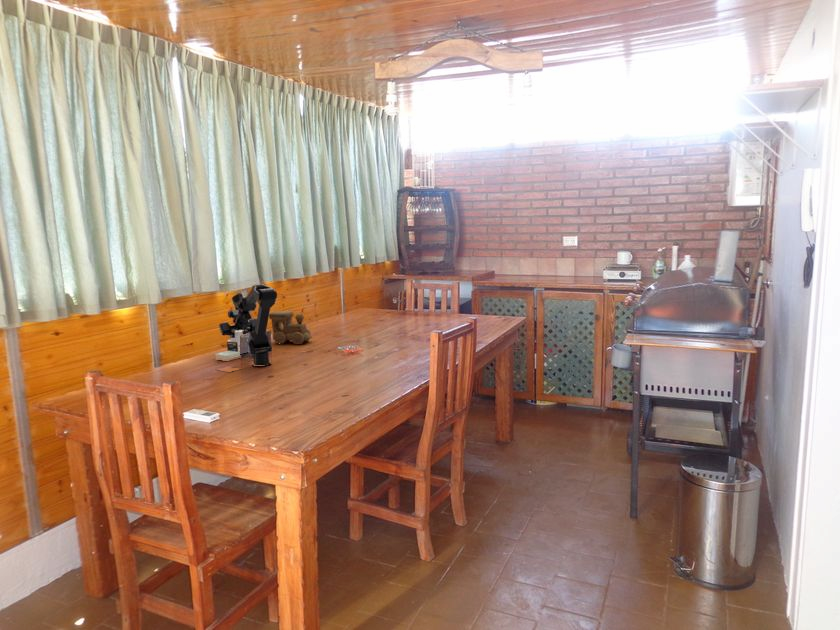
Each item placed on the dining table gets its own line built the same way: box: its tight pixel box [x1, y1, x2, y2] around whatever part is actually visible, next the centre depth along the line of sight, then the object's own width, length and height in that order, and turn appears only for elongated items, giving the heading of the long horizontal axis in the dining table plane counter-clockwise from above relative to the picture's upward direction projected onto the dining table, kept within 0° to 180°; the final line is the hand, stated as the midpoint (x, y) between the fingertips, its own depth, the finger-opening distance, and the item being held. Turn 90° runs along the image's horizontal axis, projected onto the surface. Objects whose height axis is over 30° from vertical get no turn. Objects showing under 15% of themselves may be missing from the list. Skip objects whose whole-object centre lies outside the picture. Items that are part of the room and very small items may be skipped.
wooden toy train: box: [268, 310, 313, 345], centre depth 315 cm, size 20×11×17 cm, turn 77°
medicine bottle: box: [226, 330, 244, 352], centre depth 293 cm, size 7×7×12 cm
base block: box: [214, 350, 241, 359], centre depth 283 cm, size 8×8×3 cm
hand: (236, 336), depth 293 cm, fingers closed on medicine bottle, 6 cm apart
